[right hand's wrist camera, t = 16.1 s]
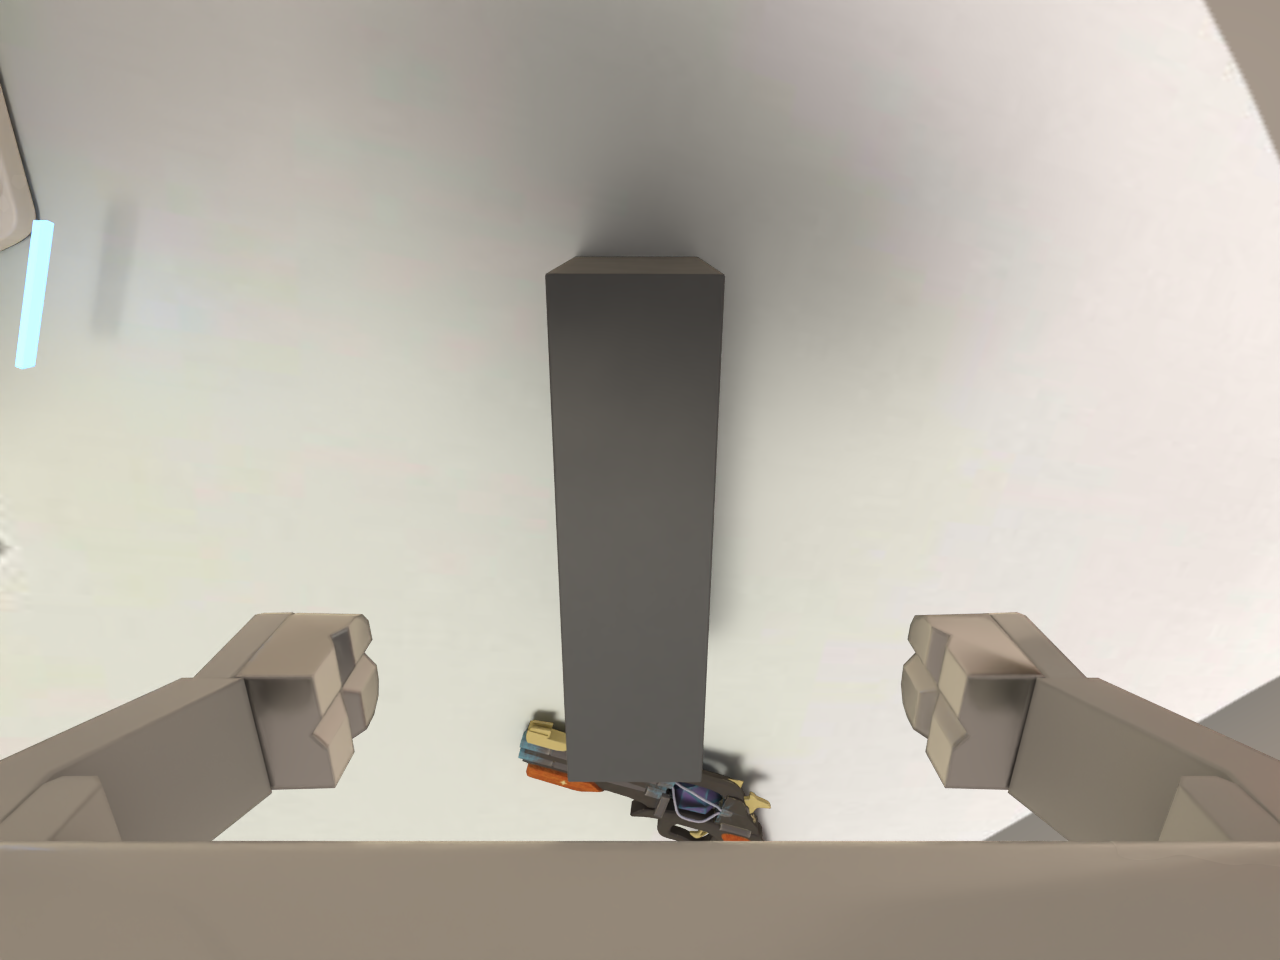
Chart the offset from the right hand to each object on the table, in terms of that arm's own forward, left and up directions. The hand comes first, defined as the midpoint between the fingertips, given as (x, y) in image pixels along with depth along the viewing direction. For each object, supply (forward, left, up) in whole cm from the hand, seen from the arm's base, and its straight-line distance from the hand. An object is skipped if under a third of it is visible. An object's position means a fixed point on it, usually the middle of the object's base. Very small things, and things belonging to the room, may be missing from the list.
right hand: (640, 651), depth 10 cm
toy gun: (+29, +7, -26) cm, 40 cm away
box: (+7, +1, -26) cm, 27 cm away
